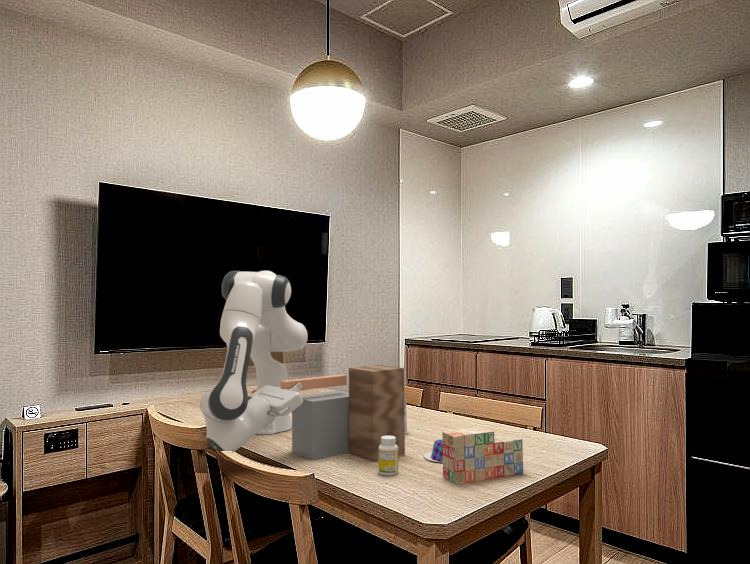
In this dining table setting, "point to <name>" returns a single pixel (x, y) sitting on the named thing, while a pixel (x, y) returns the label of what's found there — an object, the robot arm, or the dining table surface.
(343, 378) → the rail
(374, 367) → the stand
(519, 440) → the stack of blocks
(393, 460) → the supplement bottle
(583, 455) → the dining table surface
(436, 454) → the pudding
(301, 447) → the pedestal
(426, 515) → the dining table surface
